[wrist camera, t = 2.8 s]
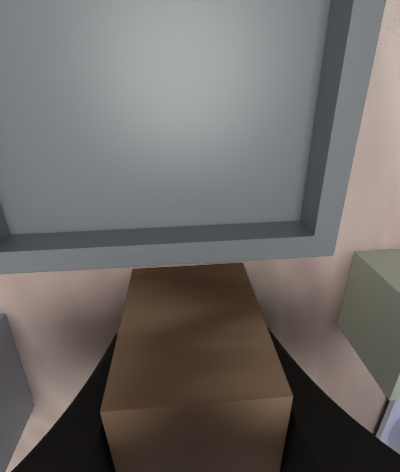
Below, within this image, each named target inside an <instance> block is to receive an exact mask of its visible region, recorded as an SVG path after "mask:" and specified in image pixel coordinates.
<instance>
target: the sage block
mask: <svg viewBox="0 0 400 472" xmlns="http://www.w3.org/2000/svg"><path fill="white" fill-rule="evenodd" d="M337 325H338V326H339V328H340V329H341V331H342V332H343V333H344V335H345V336H346V338H347V339H348V341H349V342H350V344H351V345H352V347H353V348H354V350H355V351H356V353H357V354H358V356H359V357H360V358H361V360H362V361H363V363H364V364H365V366H366V367H367V369H368V370H369V372H370V373H371V375H372V376H373V378H374V379H375V381H376V382H377V384H378V385H379V386H380V388H381V389H382V391H383V392H384V394H385V395H386V397H387V398H388V400H400V249H392V250H374V251H356V252H354V257H353V261H352V265H351V269H350V273H349V277H348V282H347V286H346V290H345V294H344V298H343V302H342V306H341V311H340V315H339V319H338V323H337Z"/></svg>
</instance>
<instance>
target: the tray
mask: <svg viewBox="0 0 400 472" xmlns="http://www.w3.org/2000/svg"><path fill="white" fill-rule="evenodd" d="M385 2H386V0H0V274H12V273H30V272H48V271H66V270H84V269H102V268H120V267H138V266H156V265H174V264H193V263H211V262H229V261H247V260H265V259H283V258H301V257H319V256H333V255H334V250H335V245H336V240H337V235H338V230H339V226H340V221H341V216H342V211H343V206H344V201H345V196H346V192H347V187H348V182H349V177H350V172H351V167H352V163H353V158H354V153H355V148H356V143H357V138H358V133H359V129H360V124H361V119H362V114H363V109H364V104H365V99H366V95H367V90H368V85H369V80H370V75H371V70H372V66H373V61H374V56H375V51H376V46H377V41H378V36H379V32H380V27H381V22H382V17H383V12H384V7H385Z"/></svg>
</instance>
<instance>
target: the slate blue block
mask: <svg viewBox="0 0 400 472" xmlns="http://www.w3.org/2000/svg"><path fill="white" fill-rule="evenodd" d="M33 407H34V402H33V399H32V396H31V393H30V389H29V386H28V383H27V380H26V377H25V374H24V371H23V367H22V364H21V361H20V358H19V355H18V352H17V349H16V345H15V342H14V339H13V336H12V333H11V330H10V327H9V323H8V320H7V317H6V314H0V472H5V471H6V469H7V467H8V464H9V462H10V460H11V458H12V455H13V453H14V451H15V449H16V446H17V444H18V442H19V439H20V437H21V435H22V433H23V430H24V428H25V426H26V423H27V421H28V419H29V417H30V414H31V412H32V410H33Z"/></svg>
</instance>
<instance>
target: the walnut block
mask: <svg viewBox="0 0 400 472" xmlns="http://www.w3.org/2000/svg"><path fill="white" fill-rule="evenodd" d="M292 400H293V394H292V392H291V389H290V387H289V384H288V381H287V379H286V376H285V373H284V371H283V368H282V365H281V363H280V360H279V358H278V355H277V352H276V350H275V347H274V344H273V342H272V339H271V336H270V334H269V331H268V329H267V326H266V323H265V321H264V318H263V315H262V313H261V310H260V307H259V305H258V302H257V300H256V297H255V294H254V292H253V289H252V286H251V284H250V281H249V278H248V276H247V273H246V271H245V268H244V265H243V263H235V264H217V265H199V266H181V267H163V268H146V269H133V271H132V276H131V280H130V284H129V289H128V293H127V297H126V302H125V306H124V310H123V315H122V319H121V323H120V328H119V332H118V336H117V341H116V345H115V349H114V354H113V358H112V362H111V366H110V371H109V375H108V379H107V384H106V388H105V392H104V397H103V401H102V405H101V410H100V414H101V418H102V422H103V426H104V429H105V433H106V437H107V441H108V444H109V448H110V452H111V456H112V459H113V463H114V467H115V471H116V472H280V467H281V461H282V456H283V450H284V445H285V439H286V434H287V428H288V422H289V417H290V411H291V406H292Z"/></svg>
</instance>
